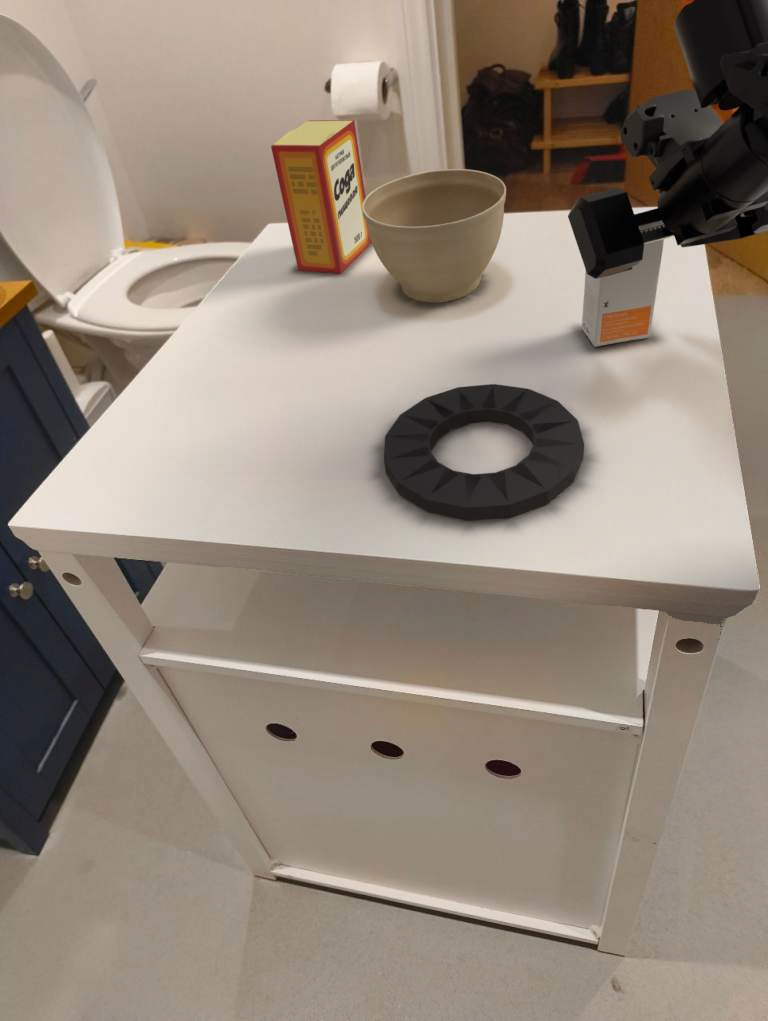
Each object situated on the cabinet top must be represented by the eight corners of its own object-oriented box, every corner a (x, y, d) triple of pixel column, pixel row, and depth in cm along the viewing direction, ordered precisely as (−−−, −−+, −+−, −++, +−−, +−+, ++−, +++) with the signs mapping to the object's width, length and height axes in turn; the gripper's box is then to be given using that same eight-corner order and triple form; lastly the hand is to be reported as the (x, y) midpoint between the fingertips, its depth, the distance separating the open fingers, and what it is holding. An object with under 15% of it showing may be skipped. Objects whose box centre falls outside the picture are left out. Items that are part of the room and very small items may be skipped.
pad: (566, 390, 71) (566, 377, 70) (597, 512, 58) (598, 498, 57) (389, 405, 73) (387, 393, 72) (382, 527, 60) (380, 513, 59)
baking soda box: (330, 239, 104) (308, 117, 94) (371, 242, 102) (353, 116, 91) (298, 270, 99) (270, 142, 88) (341, 273, 96) (317, 143, 85)
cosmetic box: (594, 349, 75) (602, 234, 67) (580, 329, 78) (587, 217, 70) (652, 338, 75) (668, 222, 67) (636, 318, 78) (649, 205, 70)
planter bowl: (361, 275, 95) (347, 188, 88) (479, 246, 97) (475, 159, 89) (395, 331, 83) (382, 237, 76) (529, 297, 85) (529, 202, 78)
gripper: (813, 33, 55) (698, 150, 70) (586, 88, 52) (518, 197, 68) (861, 174, 55) (735, 260, 70) (636, 236, 52) (556, 311, 67)
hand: (637, 254), depth 69 cm, fingers open, 9 cm apart
